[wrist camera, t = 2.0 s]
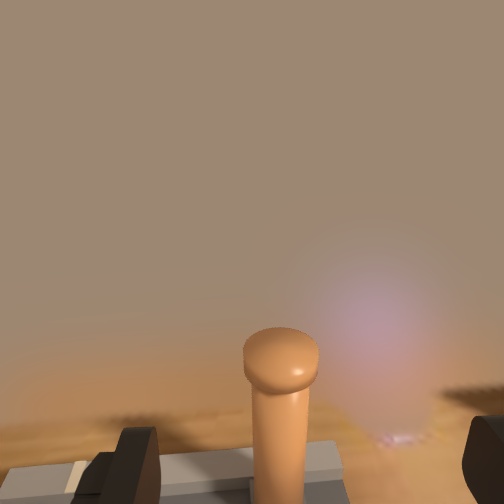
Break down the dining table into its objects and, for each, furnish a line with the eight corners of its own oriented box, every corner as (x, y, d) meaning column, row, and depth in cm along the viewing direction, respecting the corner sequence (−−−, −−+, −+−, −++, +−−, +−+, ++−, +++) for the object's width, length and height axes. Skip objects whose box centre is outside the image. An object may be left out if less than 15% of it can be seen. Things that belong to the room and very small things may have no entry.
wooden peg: (301, 483, 29) (309, 325, 23) (314, 542, 25) (327, 372, 20) (246, 488, 29) (241, 329, 23) (251, 549, 25) (246, 378, 19)
